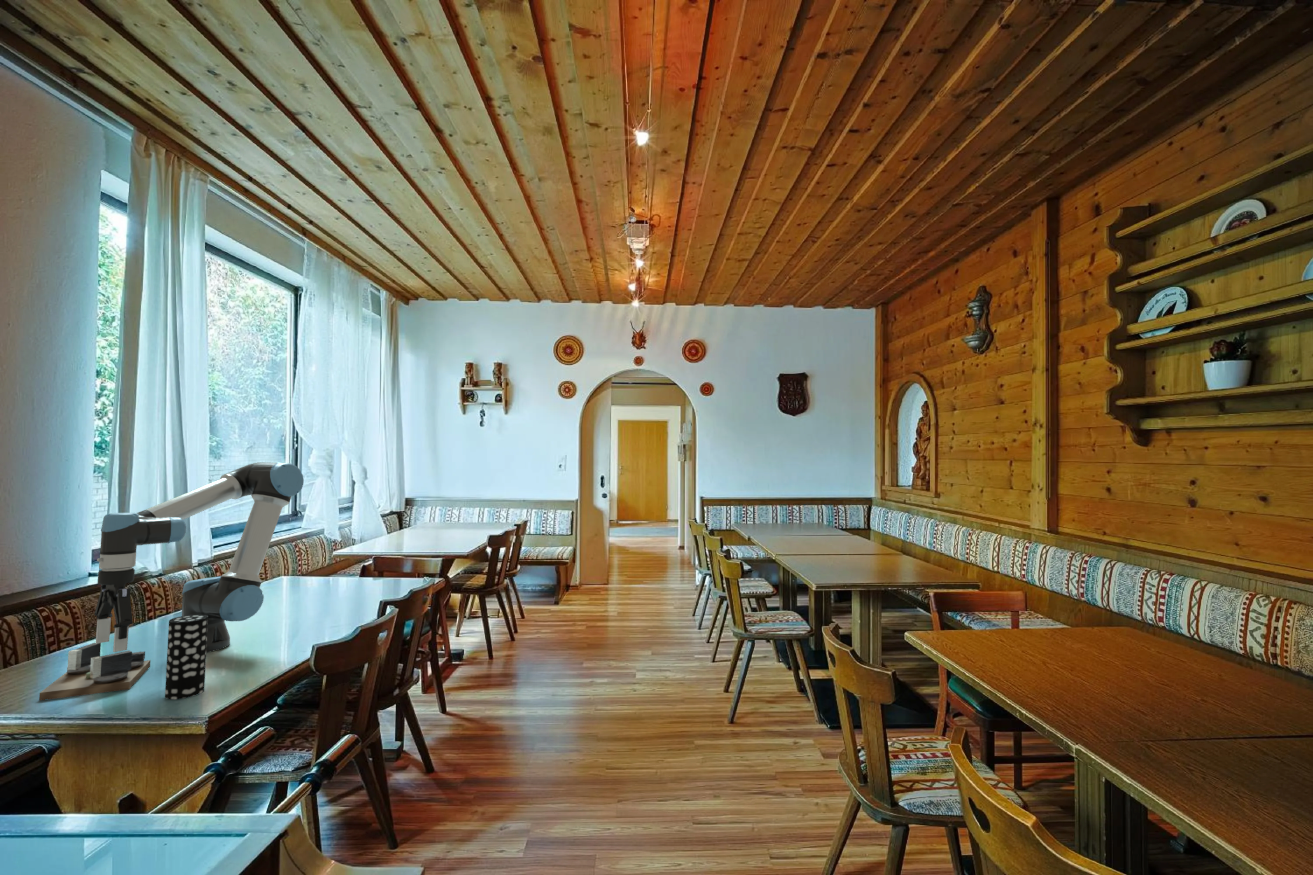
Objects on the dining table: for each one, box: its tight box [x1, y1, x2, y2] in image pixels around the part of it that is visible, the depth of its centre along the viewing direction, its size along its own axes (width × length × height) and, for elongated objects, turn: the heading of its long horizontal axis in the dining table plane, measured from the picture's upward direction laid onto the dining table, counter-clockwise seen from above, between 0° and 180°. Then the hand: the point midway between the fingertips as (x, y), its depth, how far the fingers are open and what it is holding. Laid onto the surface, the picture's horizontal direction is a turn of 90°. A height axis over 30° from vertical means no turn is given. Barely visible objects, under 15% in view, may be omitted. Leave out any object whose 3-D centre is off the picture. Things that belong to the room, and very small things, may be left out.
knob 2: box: [90, 650, 133, 683], centre depth 163 cm, size 8×7×7 cm
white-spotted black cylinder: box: [164, 615, 208, 700], centre depth 160 cm, size 8×8×20 cm
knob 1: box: [66, 642, 102, 674], centre depth 170 cm, size 8×7×7 cm
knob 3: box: [131, 650, 146, 669], centre depth 173 cm, size 7×7×4 cm
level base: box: [38, 659, 152, 701], centre depth 167 cm, size 18×20×3 cm
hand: (111, 646), depth 163 cm, fingers open, 13 cm apart
